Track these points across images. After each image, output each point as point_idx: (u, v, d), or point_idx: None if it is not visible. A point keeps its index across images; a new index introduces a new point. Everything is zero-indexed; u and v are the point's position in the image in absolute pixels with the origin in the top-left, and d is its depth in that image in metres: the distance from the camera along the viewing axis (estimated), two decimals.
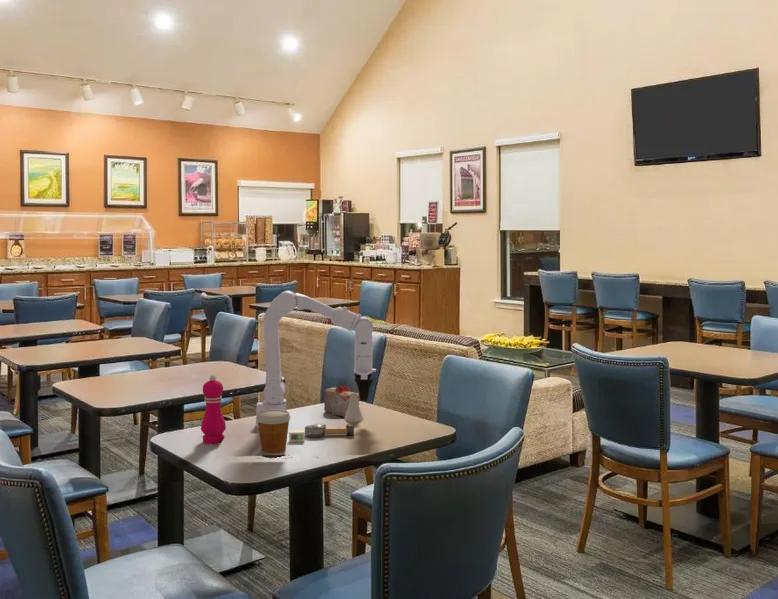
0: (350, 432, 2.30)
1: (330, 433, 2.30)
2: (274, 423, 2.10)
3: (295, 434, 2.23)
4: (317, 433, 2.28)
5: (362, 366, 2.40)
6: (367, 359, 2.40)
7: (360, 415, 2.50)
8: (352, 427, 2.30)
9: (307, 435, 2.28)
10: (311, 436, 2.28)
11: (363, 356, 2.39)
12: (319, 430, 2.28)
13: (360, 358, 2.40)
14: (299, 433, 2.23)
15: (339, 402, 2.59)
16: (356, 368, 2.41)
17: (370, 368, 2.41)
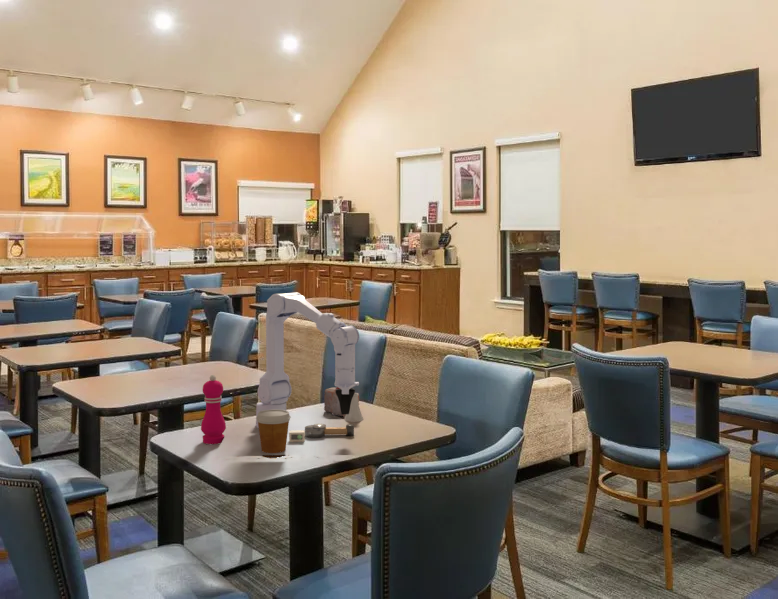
0: (350, 432, 2.30)
1: (330, 433, 2.30)
2: (274, 423, 2.10)
3: (295, 434, 2.23)
4: (317, 433, 2.28)
5: (343, 379, 2.21)
6: (349, 372, 2.21)
7: (360, 415, 2.50)
8: (352, 427, 2.30)
9: (307, 435, 2.28)
10: (311, 436, 2.28)
11: (344, 369, 2.21)
12: (319, 430, 2.28)
13: (341, 371, 2.21)
14: (299, 433, 2.23)
15: None
16: (337, 381, 2.22)
17: (352, 381, 2.22)
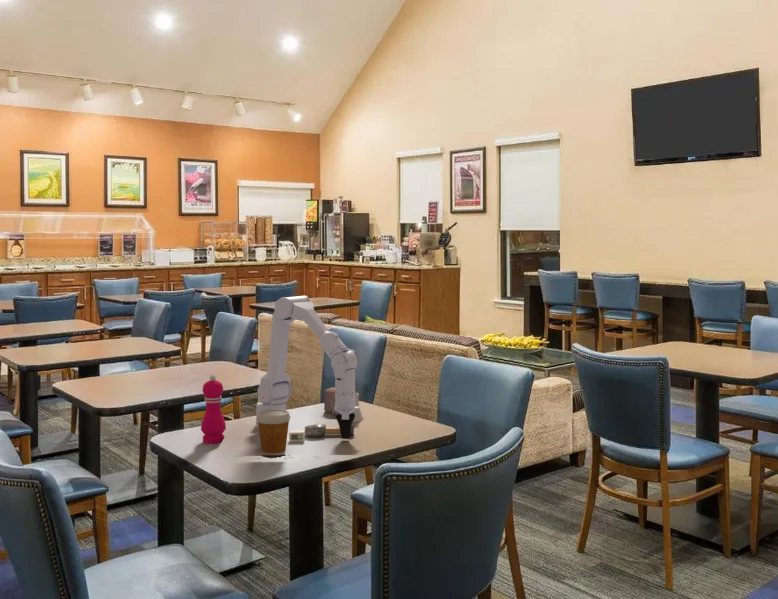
0: (350, 432, 2.30)
1: (330, 433, 2.30)
2: (274, 423, 2.10)
3: (295, 434, 2.23)
4: (317, 433, 2.28)
5: (344, 404, 2.21)
6: (349, 397, 2.22)
7: (360, 415, 2.50)
8: (352, 427, 2.30)
9: (307, 435, 2.28)
10: (311, 436, 2.28)
11: (344, 393, 2.21)
12: (319, 430, 2.28)
13: (341, 396, 2.21)
14: (299, 433, 2.23)
15: None
16: (337, 406, 2.22)
17: (352, 406, 2.23)
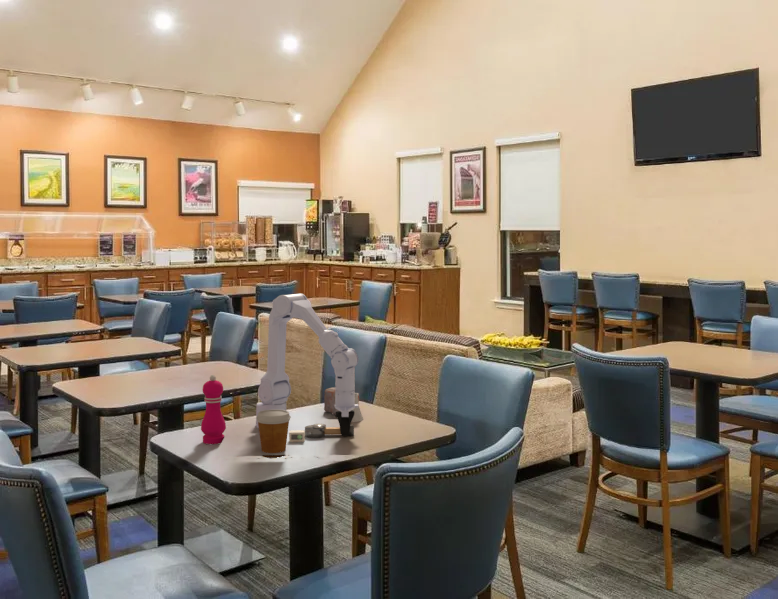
0: (350, 432, 2.30)
1: (330, 433, 2.30)
2: (274, 423, 2.10)
3: (295, 434, 2.23)
4: (317, 433, 2.28)
5: (343, 402, 2.25)
6: (349, 395, 2.25)
7: (360, 415, 2.50)
8: (352, 427, 2.30)
9: (307, 435, 2.28)
10: (311, 436, 2.28)
11: (344, 391, 2.25)
12: (319, 430, 2.28)
13: (341, 393, 2.25)
14: (299, 433, 2.23)
15: None
16: (337, 404, 2.26)
17: (352, 404, 2.26)
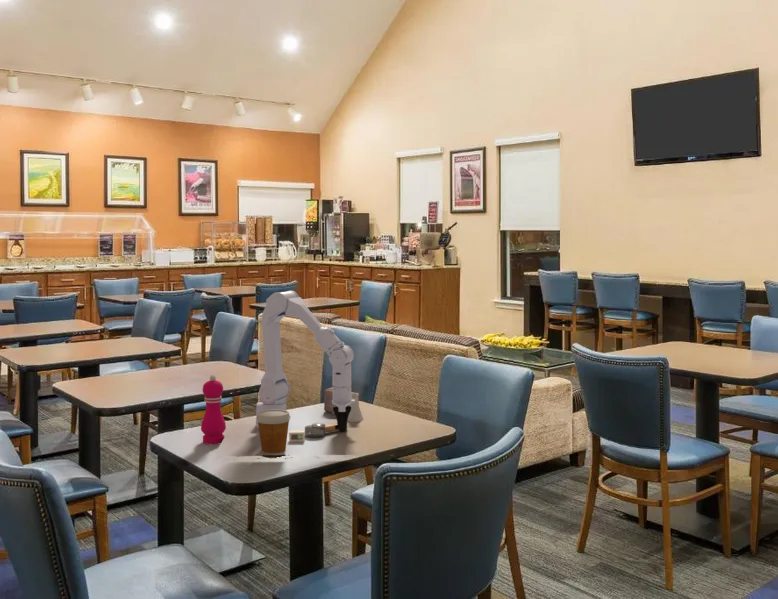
0: None
1: (329, 431, 2.33)
2: (274, 423, 2.10)
3: (295, 434, 2.23)
4: (322, 432, 2.29)
5: (340, 397, 2.31)
6: (345, 390, 2.31)
7: (360, 415, 2.50)
8: None
9: (312, 436, 2.28)
10: (317, 436, 2.28)
11: (341, 387, 2.31)
12: (323, 429, 2.29)
13: (338, 389, 2.31)
14: (299, 433, 2.23)
15: None
16: (334, 399, 2.32)
17: (349, 399, 2.32)
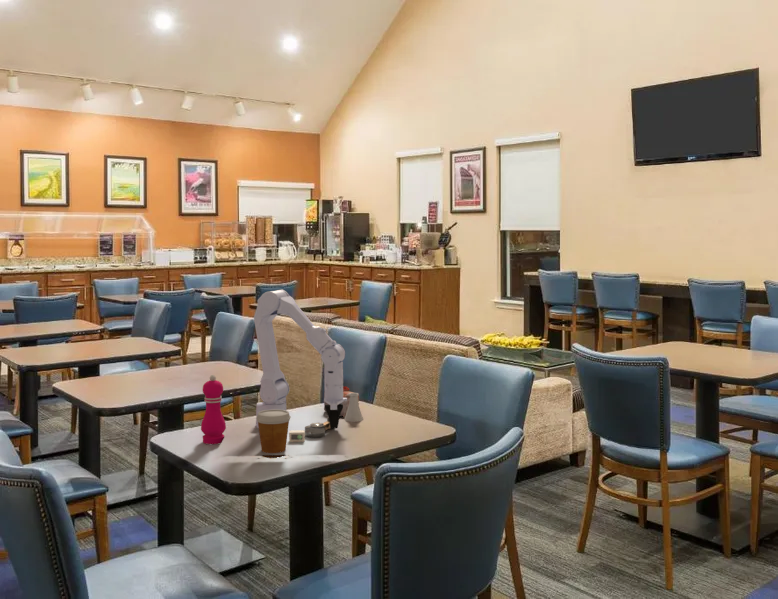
0: None
1: (324, 429, 2.34)
2: (274, 424, 2.10)
3: (295, 434, 2.23)
4: (324, 431, 2.30)
5: (332, 395, 2.33)
6: (337, 388, 2.34)
7: (360, 415, 2.50)
8: None
9: (317, 436, 2.28)
10: (321, 435, 2.29)
11: (333, 385, 2.33)
12: (324, 428, 2.31)
13: (330, 387, 2.33)
14: (299, 433, 2.23)
15: None
16: (326, 397, 2.35)
17: (340, 397, 2.35)
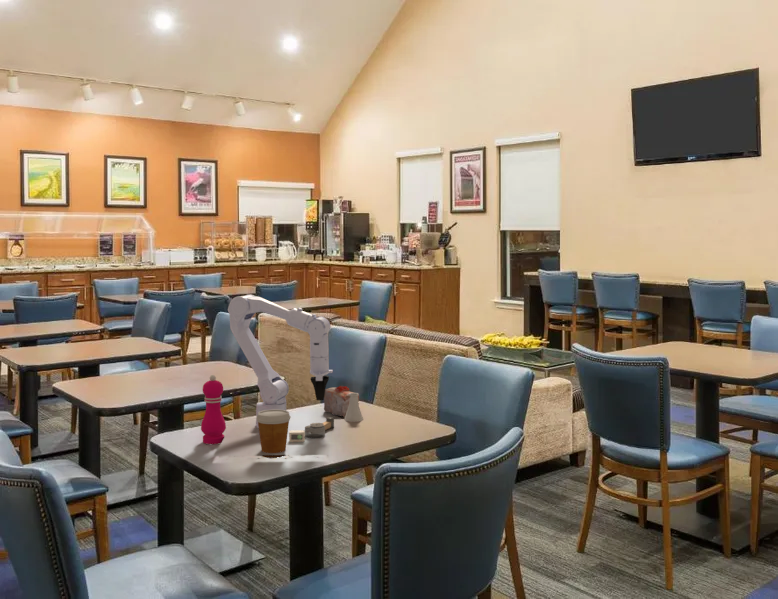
0: (333, 424, 2.40)
1: None
2: (274, 424, 2.10)
3: (295, 434, 2.23)
4: (324, 431, 2.30)
5: (318, 367, 2.35)
6: (323, 360, 2.35)
7: (360, 415, 2.50)
8: None
9: (317, 436, 2.28)
10: (322, 435, 2.29)
11: (318, 357, 2.35)
12: (324, 428, 2.31)
13: (315, 359, 2.35)
14: (299, 433, 2.23)
15: (339, 402, 2.59)
16: (312, 369, 2.36)
17: (326, 369, 2.36)
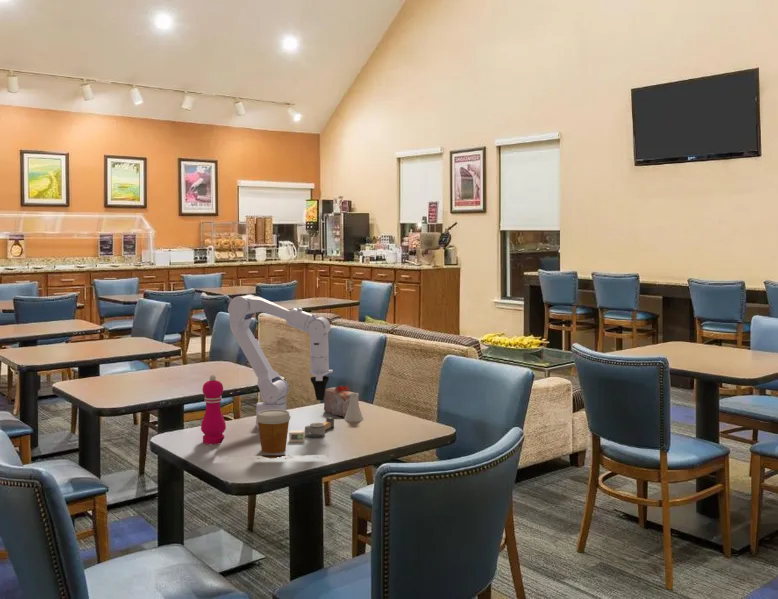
0: (333, 424, 2.40)
1: None
2: (274, 423, 2.10)
3: (295, 434, 2.23)
4: (324, 431, 2.30)
5: (318, 367, 2.35)
6: (323, 360, 2.35)
7: (360, 415, 2.50)
8: None
9: (317, 436, 2.28)
10: (322, 435, 2.29)
11: (318, 357, 2.35)
12: (324, 428, 2.31)
13: (315, 359, 2.35)
14: (299, 433, 2.23)
15: (338, 402, 2.59)
16: (312, 369, 2.36)
17: (326, 369, 2.36)
